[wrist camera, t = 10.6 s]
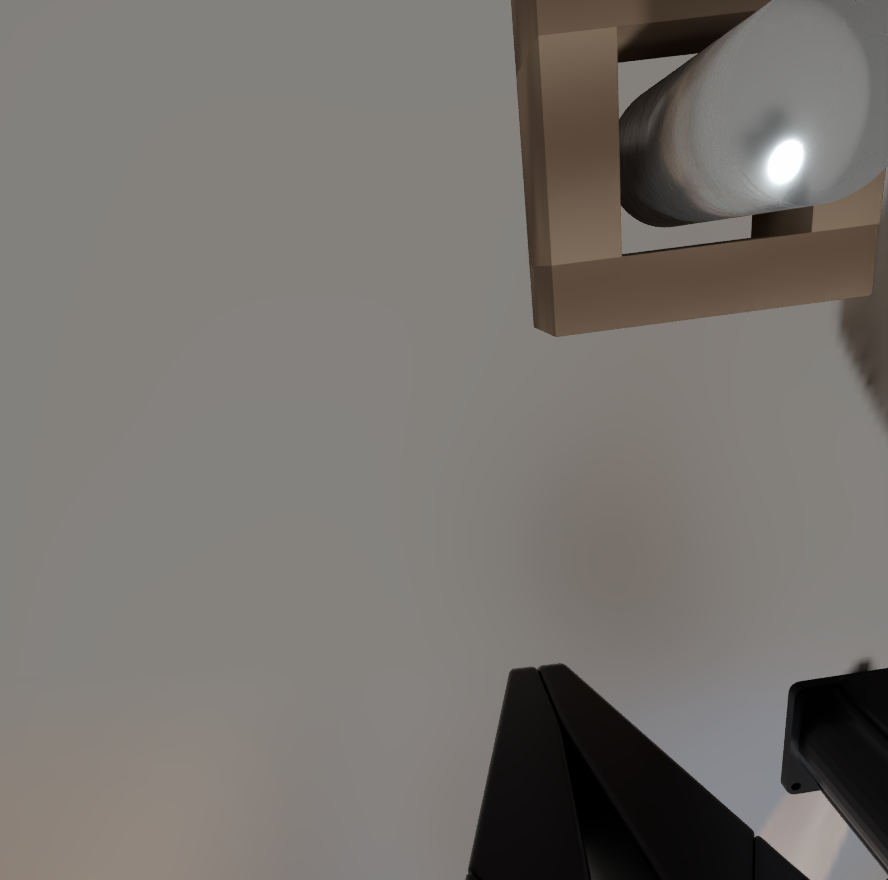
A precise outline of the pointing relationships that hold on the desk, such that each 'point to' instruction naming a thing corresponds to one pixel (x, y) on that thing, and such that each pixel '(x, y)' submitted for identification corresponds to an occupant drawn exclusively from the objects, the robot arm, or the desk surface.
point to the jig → (598, 184)
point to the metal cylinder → (763, 117)
